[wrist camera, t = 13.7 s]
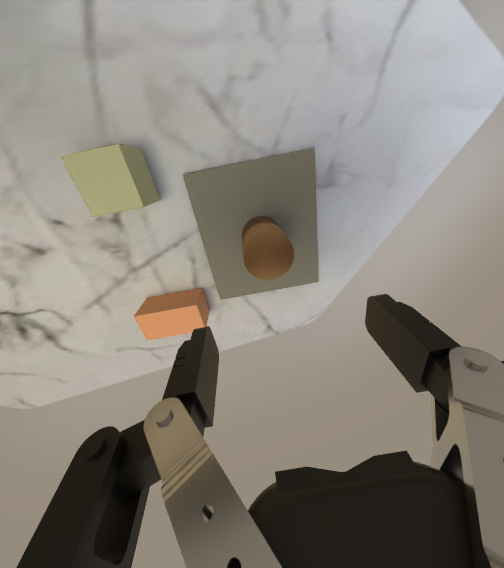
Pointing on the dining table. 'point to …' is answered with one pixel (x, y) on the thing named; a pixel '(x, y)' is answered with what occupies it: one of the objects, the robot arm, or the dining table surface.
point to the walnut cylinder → (266, 249)
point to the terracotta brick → (172, 314)
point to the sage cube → (112, 178)
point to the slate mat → (252, 203)
